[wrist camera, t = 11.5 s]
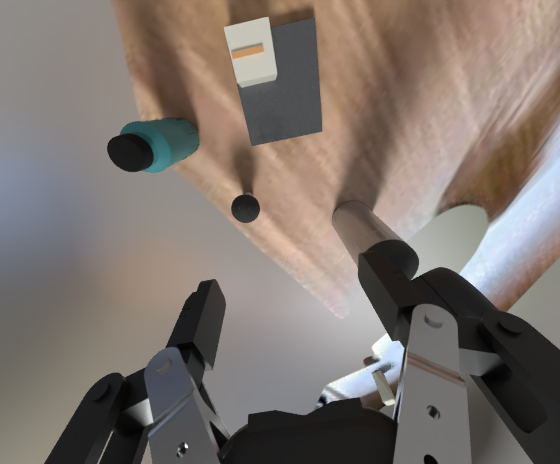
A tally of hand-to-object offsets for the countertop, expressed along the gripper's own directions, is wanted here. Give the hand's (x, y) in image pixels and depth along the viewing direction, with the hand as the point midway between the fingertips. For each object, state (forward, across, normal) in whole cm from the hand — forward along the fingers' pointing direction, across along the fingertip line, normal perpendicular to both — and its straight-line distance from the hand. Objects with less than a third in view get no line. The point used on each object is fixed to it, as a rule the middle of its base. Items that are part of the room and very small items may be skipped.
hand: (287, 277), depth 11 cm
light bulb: (+36, +7, +7) cm, 38 cm away
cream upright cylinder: (+36, -29, +103) cm, 113 cm away
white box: (+35, 0, -16) cm, 38 cm away
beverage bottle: (+36, +16, -7) cm, 40 cm away
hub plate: (+36, -4, -11) cm, 38 cm away
